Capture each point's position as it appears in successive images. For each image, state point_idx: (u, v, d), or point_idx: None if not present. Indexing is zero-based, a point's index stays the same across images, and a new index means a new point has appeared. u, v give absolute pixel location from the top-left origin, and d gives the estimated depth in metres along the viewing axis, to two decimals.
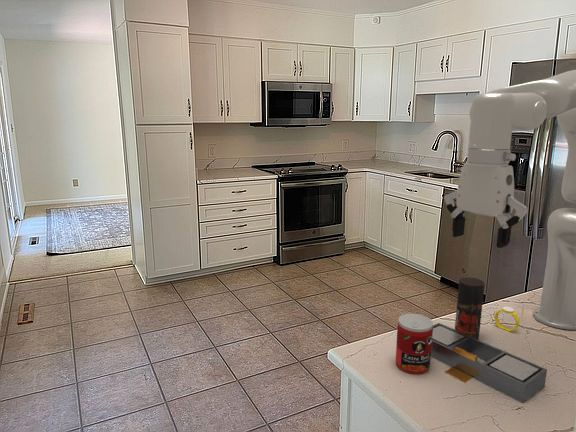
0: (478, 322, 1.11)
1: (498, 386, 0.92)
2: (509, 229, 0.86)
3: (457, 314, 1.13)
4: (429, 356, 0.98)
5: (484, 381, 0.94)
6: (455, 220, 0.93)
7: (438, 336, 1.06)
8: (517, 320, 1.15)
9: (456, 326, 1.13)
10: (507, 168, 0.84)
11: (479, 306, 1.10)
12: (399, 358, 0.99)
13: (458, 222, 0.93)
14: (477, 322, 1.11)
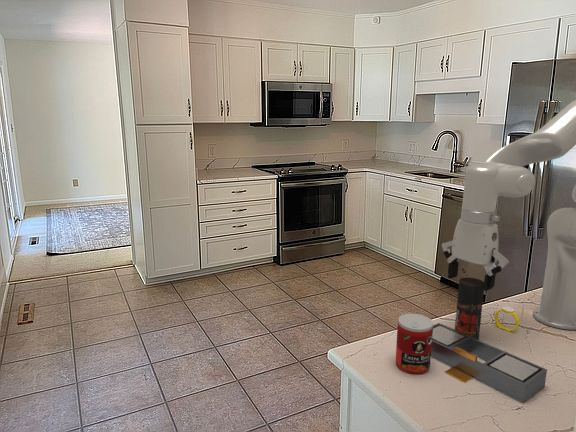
0: (478, 322, 1.11)
1: (498, 386, 0.92)
2: (494, 276, 1.06)
3: (457, 314, 1.13)
4: (429, 356, 0.98)
5: (484, 381, 0.94)
6: (450, 265, 1.13)
7: (438, 336, 1.06)
8: (517, 320, 1.15)
9: (456, 326, 1.13)
10: (493, 227, 1.04)
11: (479, 306, 1.10)
12: (399, 358, 0.99)
13: (453, 266, 1.13)
14: (477, 322, 1.11)
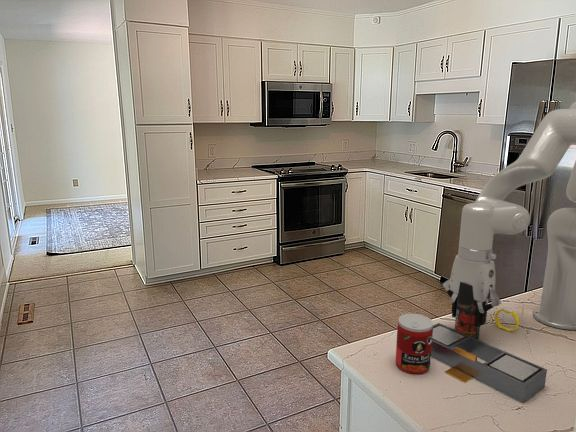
0: None
1: (498, 386, 0.92)
2: (485, 313, 1.09)
3: (457, 314, 1.13)
4: (429, 356, 0.98)
5: (484, 381, 0.94)
6: (454, 304, 1.14)
7: (438, 336, 1.06)
8: (517, 320, 1.15)
9: (456, 326, 1.13)
10: (489, 265, 1.06)
11: None
12: (399, 358, 0.99)
13: (456, 306, 1.14)
14: None
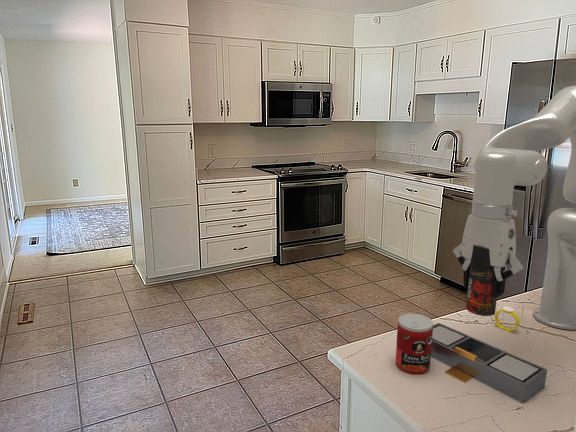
0: None
1: (498, 386, 0.92)
2: (504, 281, 0.93)
3: (470, 284, 0.96)
4: (429, 356, 0.98)
5: (484, 381, 0.94)
6: (466, 273, 0.98)
7: (438, 336, 1.06)
8: (517, 320, 1.15)
9: (468, 298, 0.97)
10: (509, 223, 0.89)
11: None
12: (399, 358, 0.99)
13: None
14: None
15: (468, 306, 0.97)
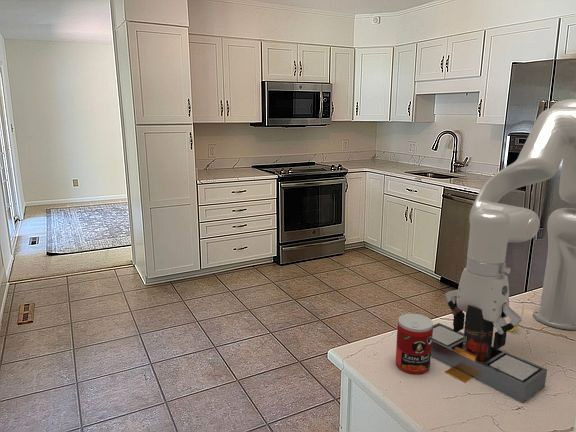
0: (488, 350, 0.97)
1: (498, 386, 0.92)
2: (505, 333, 0.94)
3: (464, 341, 0.99)
4: (429, 356, 0.98)
5: (484, 381, 0.94)
6: (455, 317, 1.01)
7: (438, 336, 1.06)
8: None
9: None
10: (502, 280, 0.92)
11: (490, 333, 0.96)
12: (399, 358, 0.99)
13: (458, 319, 1.02)
14: (488, 351, 0.97)
15: None
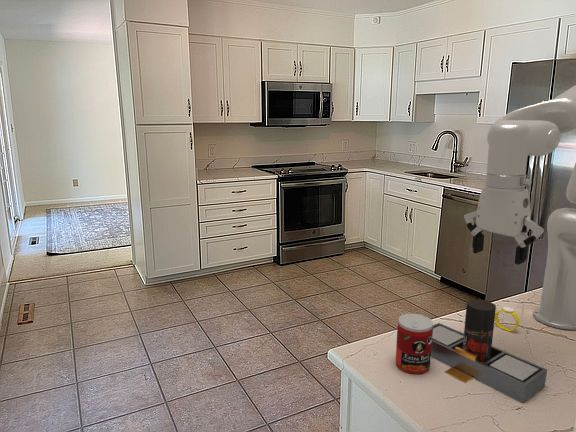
0: (488, 351, 0.97)
1: (498, 386, 0.92)
2: (526, 247, 0.93)
3: (464, 341, 0.99)
4: (429, 356, 0.98)
5: (484, 381, 0.94)
6: (475, 238, 1.01)
7: (438, 336, 1.06)
8: (517, 320, 1.15)
9: None
10: (523, 192, 0.91)
11: (490, 333, 0.96)
12: (399, 358, 0.99)
13: (478, 240, 1.01)
14: (488, 351, 0.97)
15: None
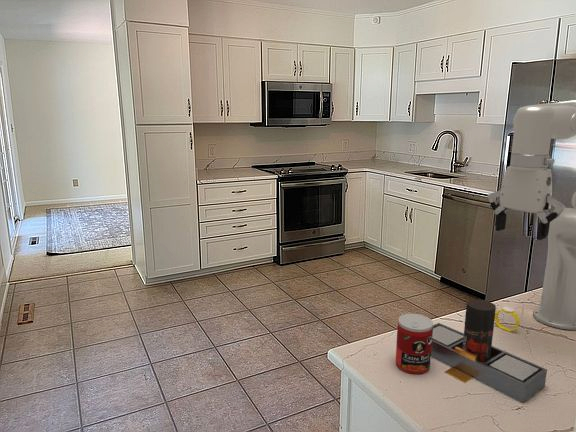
0: (488, 351, 0.97)
1: (498, 386, 0.92)
2: (548, 224, 0.99)
3: (464, 341, 0.99)
4: (429, 356, 0.98)
5: (484, 381, 0.94)
6: (498, 216, 1.06)
7: (438, 336, 1.06)
8: (517, 320, 1.15)
9: None
10: (547, 171, 0.97)
11: (490, 333, 0.96)
12: (399, 358, 0.99)
13: (501, 218, 1.07)
14: (488, 351, 0.97)
15: None
